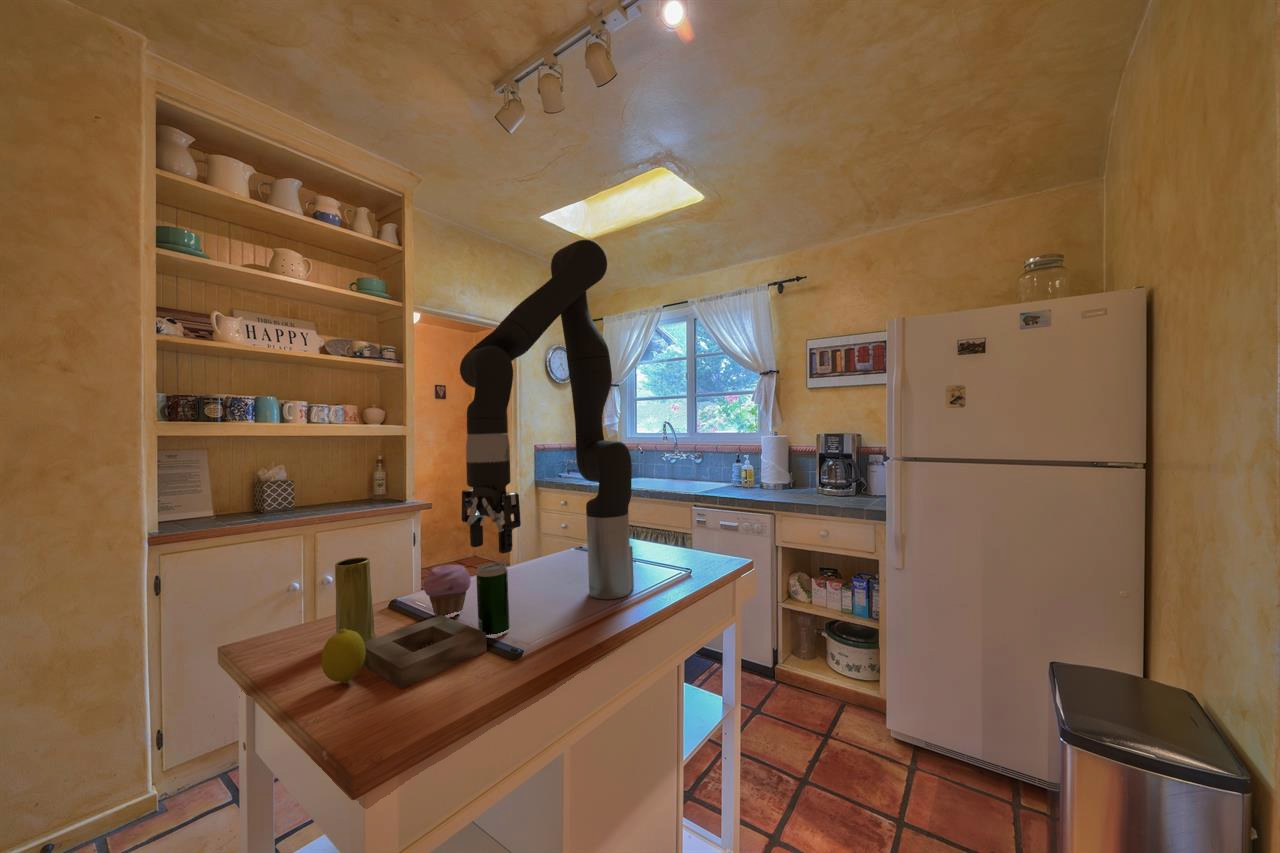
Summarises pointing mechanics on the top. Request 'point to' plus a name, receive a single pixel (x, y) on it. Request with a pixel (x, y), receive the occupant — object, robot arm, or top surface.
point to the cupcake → (447, 588)
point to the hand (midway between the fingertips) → (490, 549)
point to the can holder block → (423, 650)
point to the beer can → (492, 598)
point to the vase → (354, 597)
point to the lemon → (343, 655)
